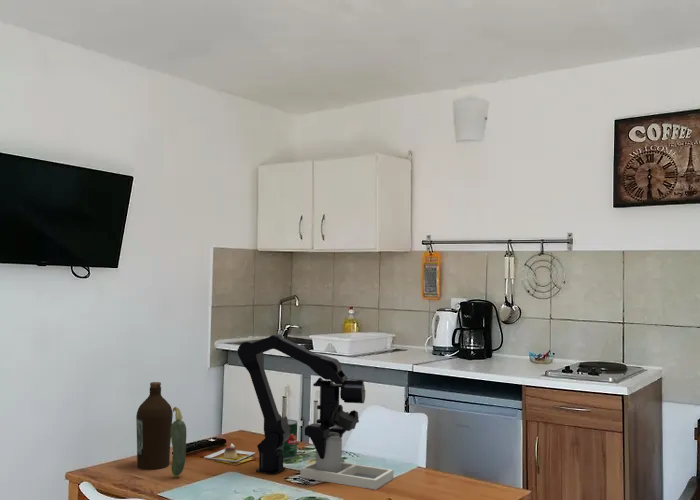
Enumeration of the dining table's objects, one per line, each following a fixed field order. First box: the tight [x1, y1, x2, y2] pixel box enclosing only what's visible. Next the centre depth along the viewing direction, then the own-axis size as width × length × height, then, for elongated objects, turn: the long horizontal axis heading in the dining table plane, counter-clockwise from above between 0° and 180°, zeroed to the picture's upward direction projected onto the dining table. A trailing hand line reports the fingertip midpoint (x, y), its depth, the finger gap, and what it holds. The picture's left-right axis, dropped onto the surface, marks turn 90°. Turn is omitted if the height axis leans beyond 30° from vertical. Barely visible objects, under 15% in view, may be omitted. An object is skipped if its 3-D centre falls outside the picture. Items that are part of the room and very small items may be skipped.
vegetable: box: [171, 406, 187, 478], centre depth 190 cm, size 4×4×20 cm
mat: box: [352, 473, 378, 479], centre depth 189 cm, size 10×10×1 cm
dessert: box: [204, 443, 256, 463], centre depth 214 cm, size 12×12×5 cm
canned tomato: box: [280, 418, 298, 460], centre depth 216 cm, size 8×8×11 cm
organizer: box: [299, 461, 394, 490], centre depth 192 cm, size 24×12×2 cm, turn 63°
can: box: [315, 432, 343, 473], centre depth 195 cm, size 8×8×12 cm
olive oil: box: [135, 381, 174, 471], centre depth 203 cm, size 11×11×25 cm
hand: (328, 455), depth 195 cm, fingers closed on can, 7 cm apart
